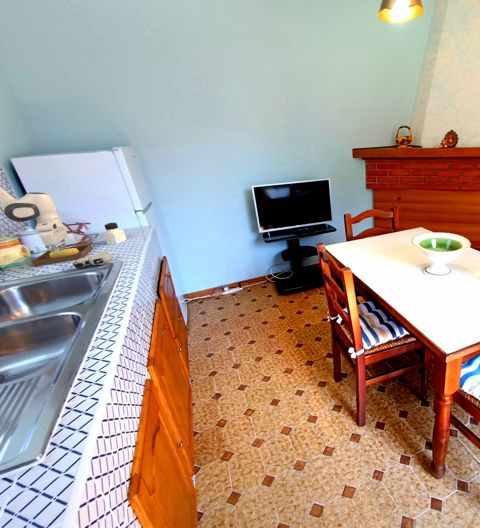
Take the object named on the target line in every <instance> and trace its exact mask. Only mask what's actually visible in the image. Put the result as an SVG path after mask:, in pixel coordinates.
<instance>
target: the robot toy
mask: <svg viewBox="0 0 480 528" xmlns="http://www.w3.org/2000/svg"><path fill="white" fill-rule="evenodd" d="M111 259H112V255H111V250H108V251H102V252H98V253H95V254H92V255H91V256H90V257H89V256H85V257H84V258H80V259H78V260H74V262H72V266H70V269H79V268H81V269H82V268H83V269H84V268H86V267H88V266H91V265H93V266H96V265H98V266H103V265H105V264H106V263H108V262H109V261H110V260H111Z"/></svg>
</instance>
